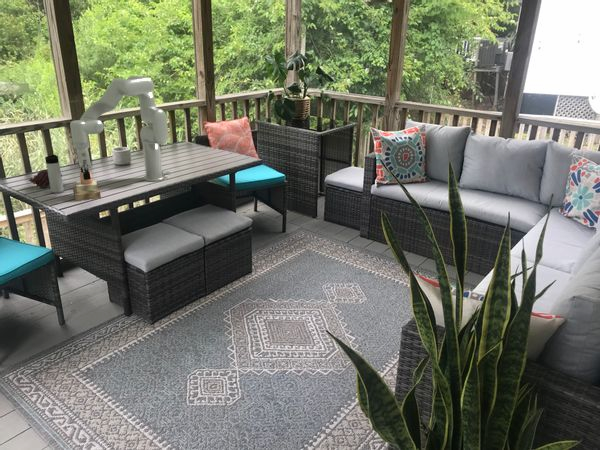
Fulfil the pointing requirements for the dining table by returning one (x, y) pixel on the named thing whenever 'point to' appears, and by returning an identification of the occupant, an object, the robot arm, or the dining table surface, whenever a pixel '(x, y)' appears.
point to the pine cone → (41, 179)
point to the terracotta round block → (85, 180)
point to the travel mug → (54, 174)
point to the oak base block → (86, 195)
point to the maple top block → (86, 187)
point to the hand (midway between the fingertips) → (86, 177)
